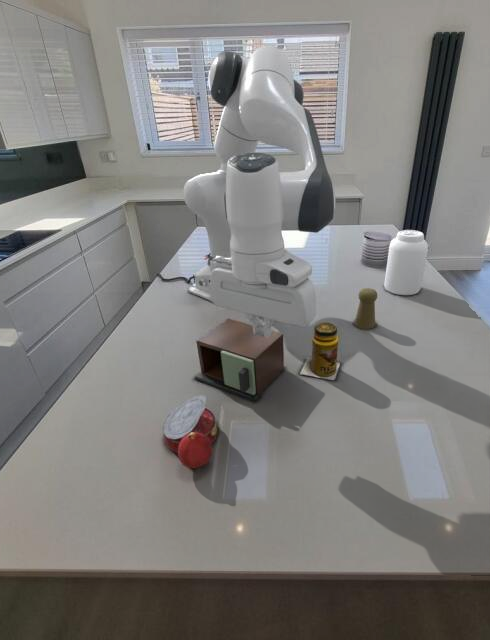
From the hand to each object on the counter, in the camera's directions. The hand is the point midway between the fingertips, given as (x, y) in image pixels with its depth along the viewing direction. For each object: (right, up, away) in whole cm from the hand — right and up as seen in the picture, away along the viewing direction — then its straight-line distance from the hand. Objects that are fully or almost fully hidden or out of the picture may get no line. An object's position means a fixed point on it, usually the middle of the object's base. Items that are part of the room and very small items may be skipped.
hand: (262, 334), depth 69 cm
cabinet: (-6, -9, +21) cm, 24 cm away
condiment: (+13, -8, +22) cm, 27 cm away
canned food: (-14, -20, +4) cm, 25 cm away
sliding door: (-6, -12, +13) cm, 19 cm away
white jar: (+45, +17, +63) cm, 80 cm away
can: (+41, +32, +87) cm, 101 cm away
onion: (-11, -24, -2) cm, 26 cm away
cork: (+28, +4, +41) cm, 50 cm away
